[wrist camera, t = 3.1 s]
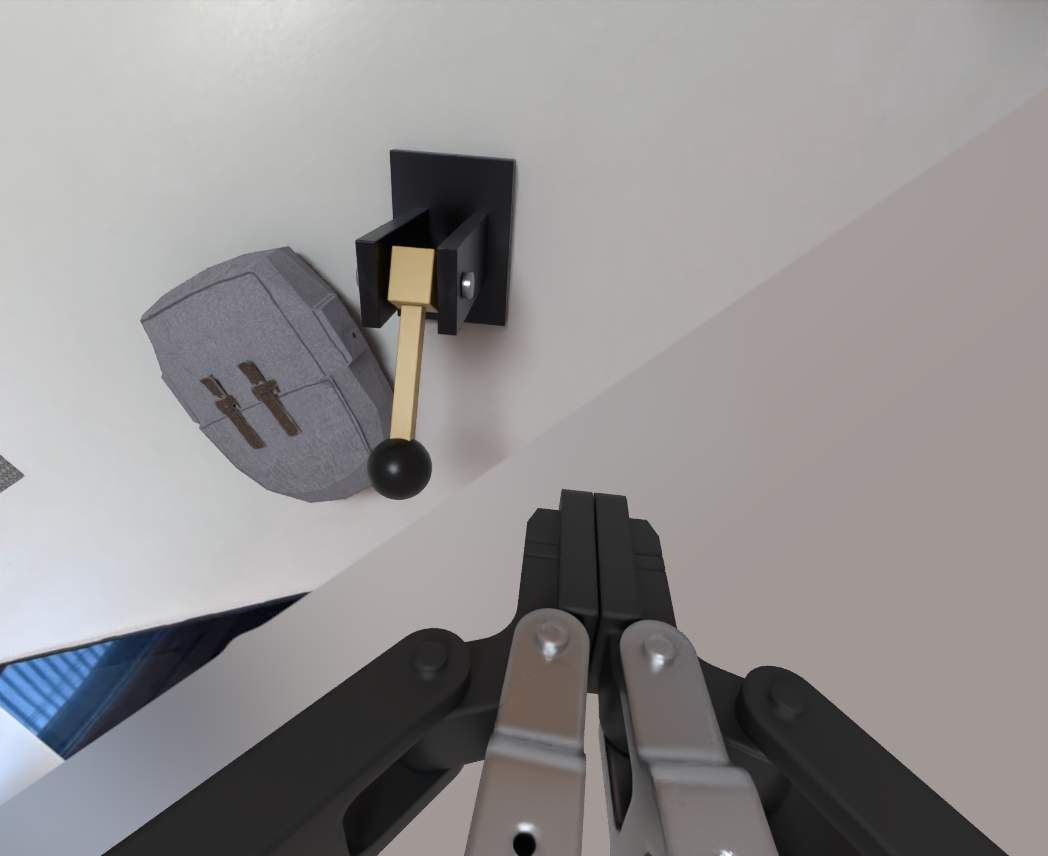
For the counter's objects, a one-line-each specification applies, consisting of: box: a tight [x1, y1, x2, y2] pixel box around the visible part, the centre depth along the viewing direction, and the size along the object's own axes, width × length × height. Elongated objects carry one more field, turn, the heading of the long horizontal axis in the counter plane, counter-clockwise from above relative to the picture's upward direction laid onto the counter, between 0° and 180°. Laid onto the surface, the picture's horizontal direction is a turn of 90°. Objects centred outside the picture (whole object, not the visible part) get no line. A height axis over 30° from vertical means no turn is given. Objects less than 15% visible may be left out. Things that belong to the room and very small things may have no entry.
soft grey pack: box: [140, 246, 394, 503], centre depth 41 cm, size 15×8×20 cm
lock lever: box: [367, 246, 438, 500], centre depth 29 cm, size 13×3×3 cm, turn 176°
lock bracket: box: [355, 149, 515, 335], centre depth 33 cm, size 11×8×13 cm
